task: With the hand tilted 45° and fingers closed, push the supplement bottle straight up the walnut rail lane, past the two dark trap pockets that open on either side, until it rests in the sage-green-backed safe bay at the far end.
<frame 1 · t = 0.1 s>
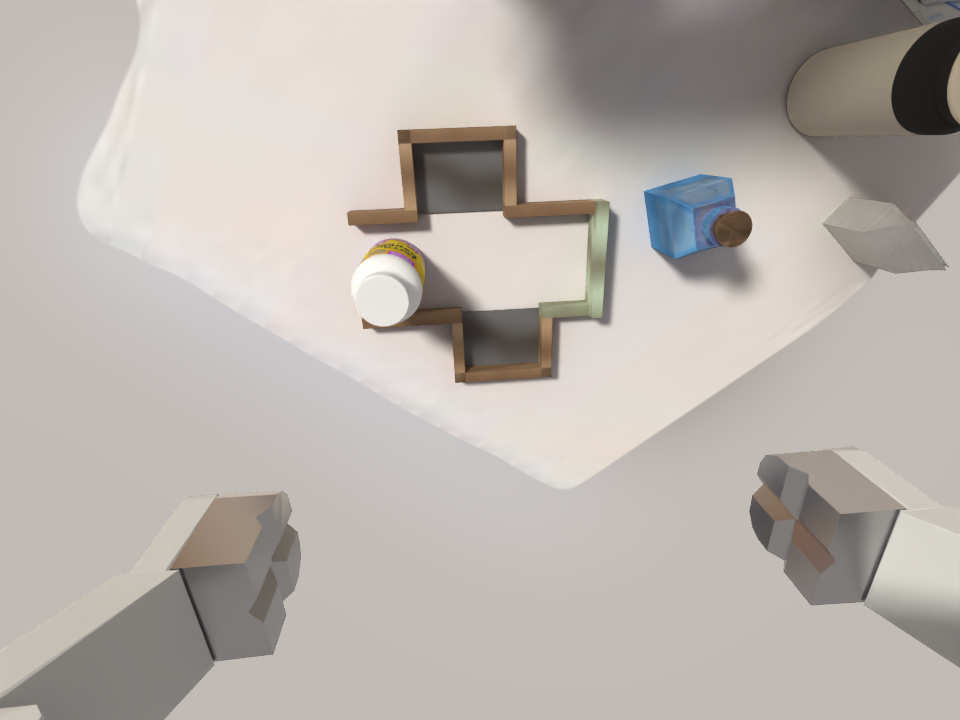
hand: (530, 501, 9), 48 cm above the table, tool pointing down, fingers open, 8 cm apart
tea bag: (850, 229, 57), on the table
supplement bottle: (395, 266, 55), on the table
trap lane: (485, 262, 55), on the table
perfume bottle: (674, 211, 55), on the table
travel mug: (821, 93, 51), on the table
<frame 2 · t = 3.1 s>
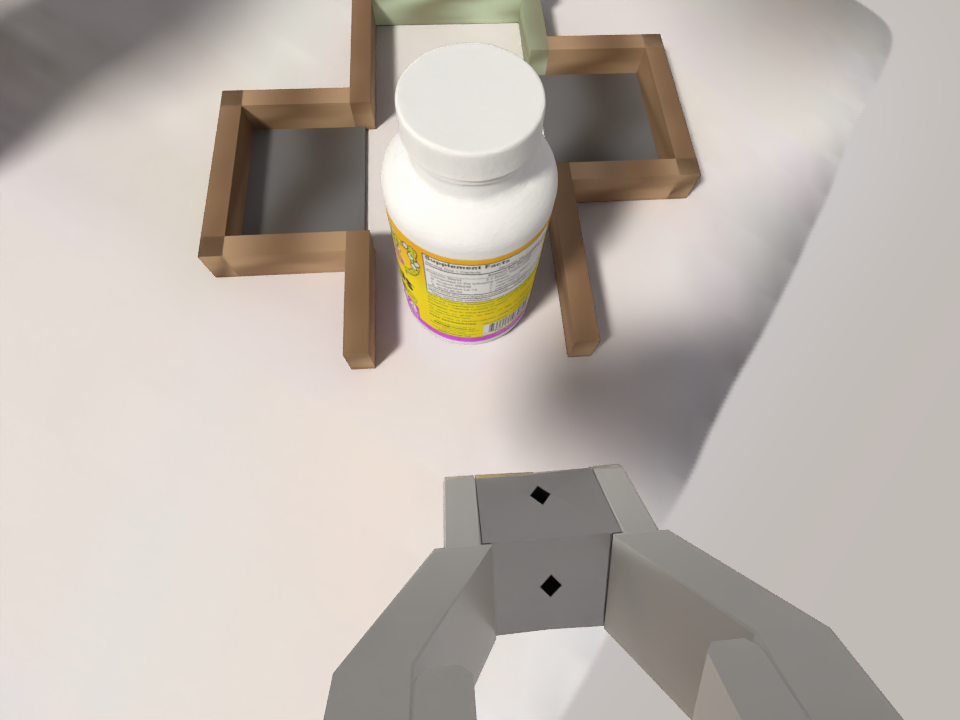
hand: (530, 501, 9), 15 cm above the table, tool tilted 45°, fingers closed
supplement bottle: (467, 296, 27), on the table
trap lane: (457, 151, 31), on the table
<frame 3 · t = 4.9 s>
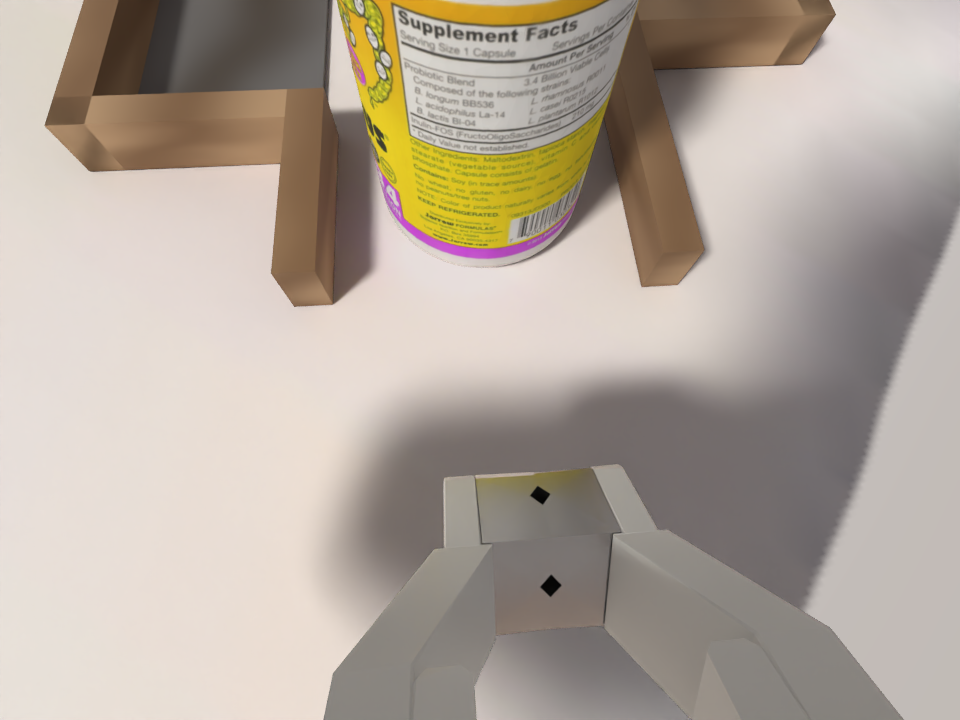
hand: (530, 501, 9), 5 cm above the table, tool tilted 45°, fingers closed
supplement bottle: (479, 199, 18), on the table
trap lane: (461, 3, 21), on the table
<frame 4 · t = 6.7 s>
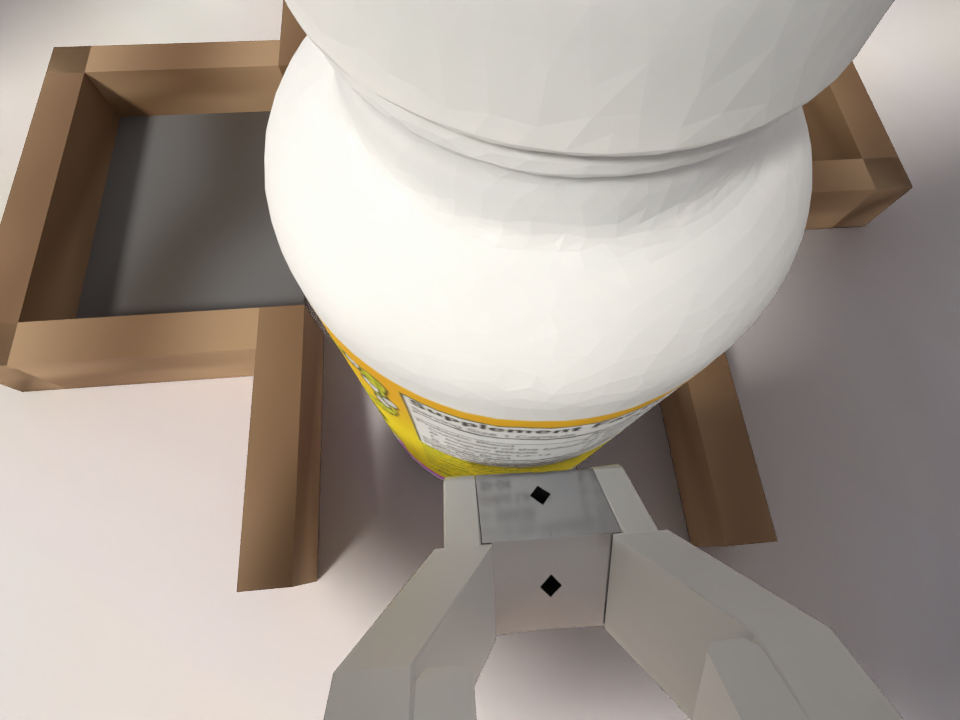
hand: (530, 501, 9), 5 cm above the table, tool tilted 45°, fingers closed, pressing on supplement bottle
supplement bottle: (494, 386, 15), on the table, touching gripper
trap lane: (467, 149, 18), on the table
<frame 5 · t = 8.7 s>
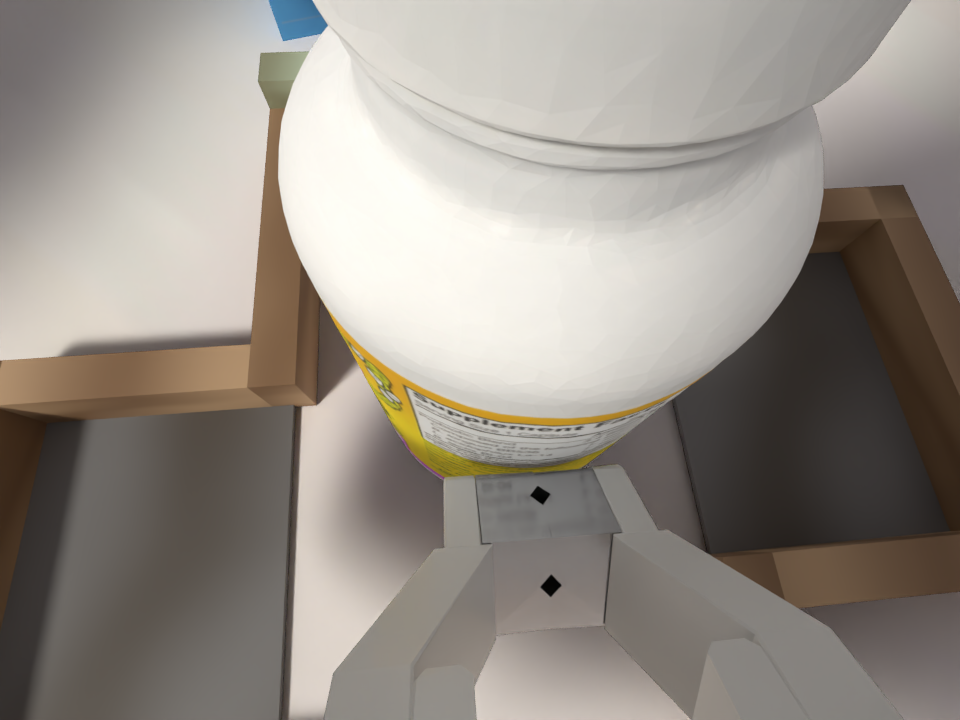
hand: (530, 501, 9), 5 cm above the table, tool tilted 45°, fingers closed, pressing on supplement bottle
supplement bottle: (498, 389, 15), on the table, touching gripper
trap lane: (492, 459, 14), on the table
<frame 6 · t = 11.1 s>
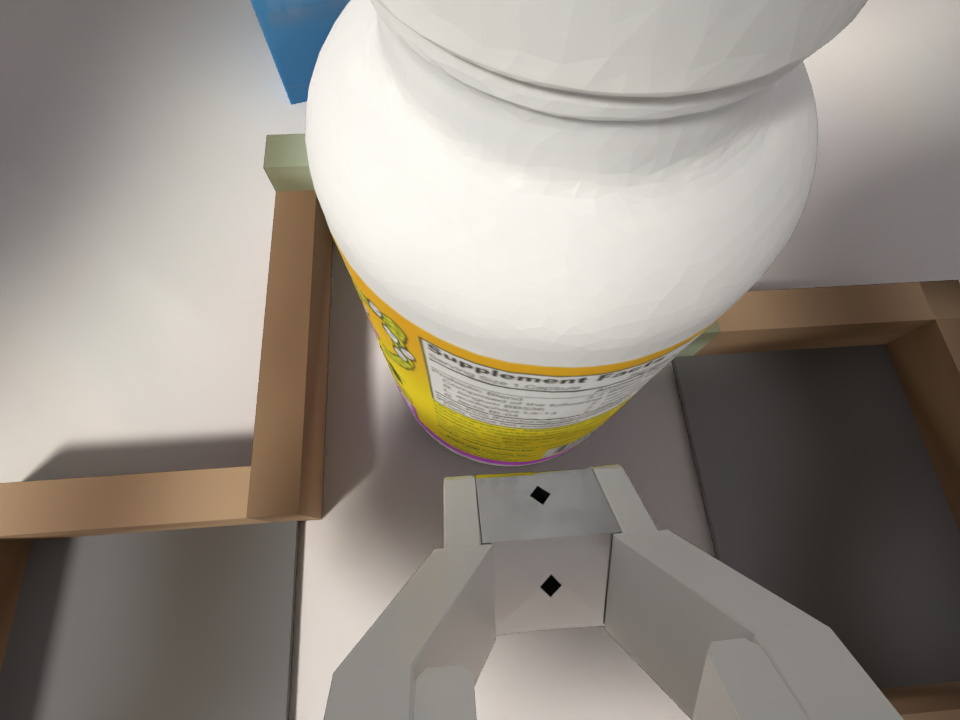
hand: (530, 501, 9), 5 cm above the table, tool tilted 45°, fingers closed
supplement bottle: (504, 365, 15), on the table
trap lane: (511, 584, 13), on the table
perfume bottle: (354, 39, 21), on the table
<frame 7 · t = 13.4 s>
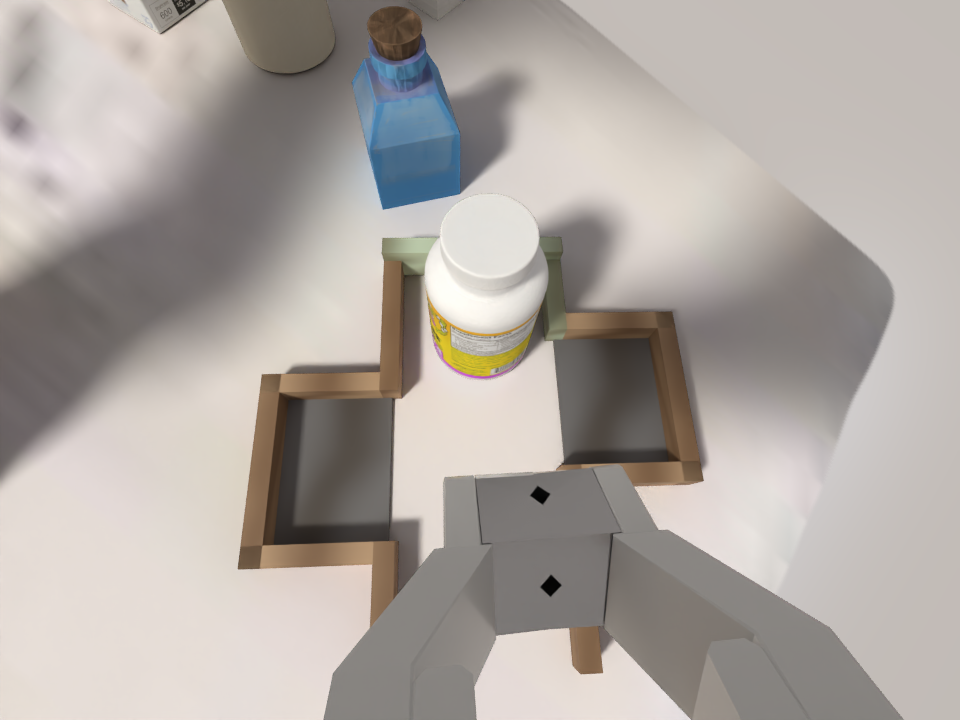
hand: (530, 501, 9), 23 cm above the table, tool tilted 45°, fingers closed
supplement bottle: (479, 340, 35), on the table
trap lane: (477, 425, 33), on the table
perfume bottle: (413, 172, 40), on the table
travel mug: (291, 46, 44), on the table
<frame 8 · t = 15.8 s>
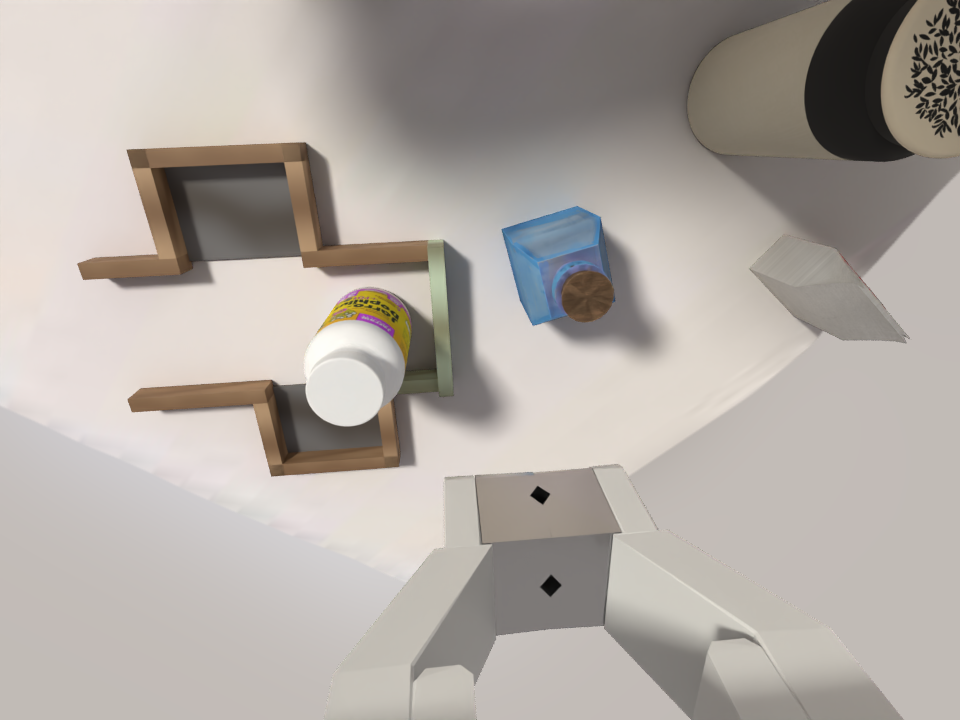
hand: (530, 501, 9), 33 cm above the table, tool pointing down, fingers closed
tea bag: (787, 276, 43), on the table
supplement bottle: (372, 322, 42), on the table
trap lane: (296, 323, 41), on the table
perfume bottle: (547, 254, 41), on the table
travel mug: (736, 96, 37), on the table
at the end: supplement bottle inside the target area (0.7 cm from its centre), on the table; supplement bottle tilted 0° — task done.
